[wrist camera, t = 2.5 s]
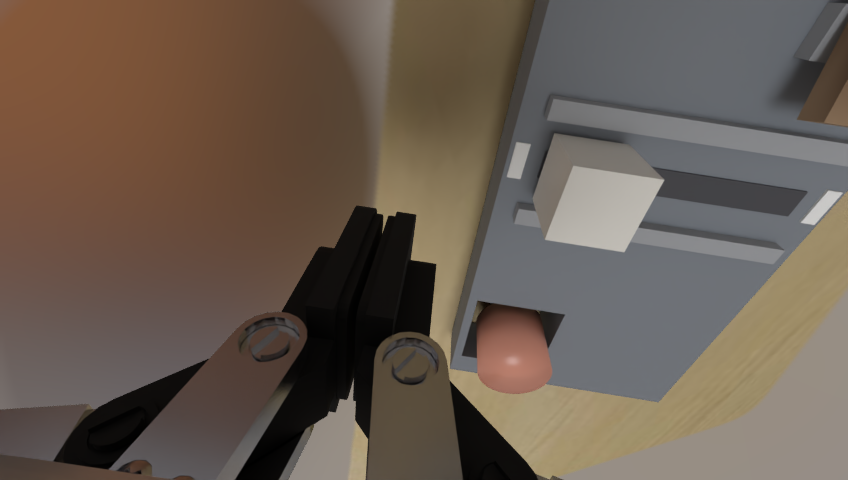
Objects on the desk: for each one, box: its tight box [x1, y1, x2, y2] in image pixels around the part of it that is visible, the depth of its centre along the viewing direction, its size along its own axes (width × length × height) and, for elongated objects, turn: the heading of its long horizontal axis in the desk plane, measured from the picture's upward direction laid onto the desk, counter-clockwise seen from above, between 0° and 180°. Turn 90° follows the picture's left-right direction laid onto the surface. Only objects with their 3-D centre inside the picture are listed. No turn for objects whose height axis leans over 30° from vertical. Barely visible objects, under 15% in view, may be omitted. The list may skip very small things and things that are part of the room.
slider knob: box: [532, 133, 664, 252], centre depth 14 cm, size 3×3×3 cm
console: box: [450, 0, 848, 402], centre depth 18 cm, size 24×14×4 cm, turn 173°
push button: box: [476, 303, 552, 394], centre depth 22 cm, size 4×4×4 cm
